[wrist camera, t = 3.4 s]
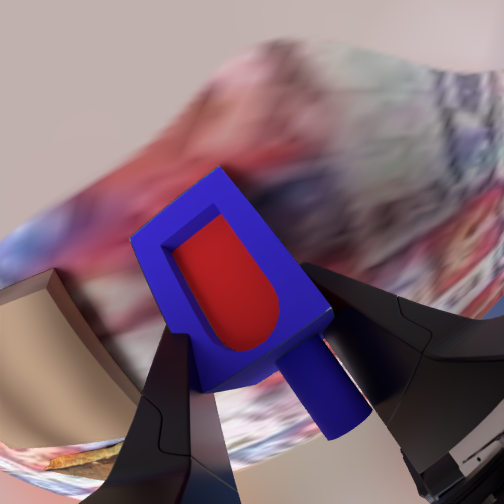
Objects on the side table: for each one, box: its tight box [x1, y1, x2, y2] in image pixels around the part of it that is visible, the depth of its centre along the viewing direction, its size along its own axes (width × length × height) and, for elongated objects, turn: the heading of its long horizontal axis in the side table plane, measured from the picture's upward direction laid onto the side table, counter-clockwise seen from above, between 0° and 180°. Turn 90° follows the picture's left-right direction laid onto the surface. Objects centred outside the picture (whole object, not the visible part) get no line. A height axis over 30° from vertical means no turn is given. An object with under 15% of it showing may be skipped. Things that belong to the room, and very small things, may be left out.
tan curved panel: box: [0, 268, 142, 448], centre depth 10 cm, size 12×10×1 cm
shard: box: [44, 441, 124, 480], centre depth 15 cm, size 11×8×2 cm
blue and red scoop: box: [129, 166, 373, 441], centre depth 9 cm, size 4×4×8 cm
